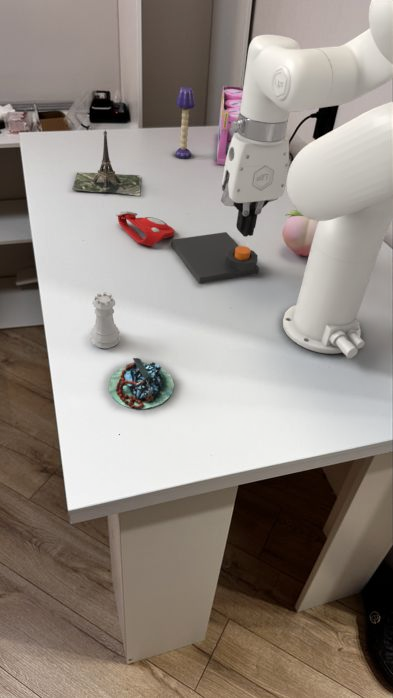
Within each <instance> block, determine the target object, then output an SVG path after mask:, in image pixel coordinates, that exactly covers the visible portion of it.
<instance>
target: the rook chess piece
mask: <svg viewBox="0 0 393 698" xmlns="http://www.w3.org/2000/svg"><path fill="white" fill-rule="evenodd" d="M102 293H103V294H101V292H98V293H96V295H95V296H94V299H93V300H92V306H93V307H94V308H95V309H94V314H95V324H94V325H93V327H92V328H91V331H90V341H91V343H92V344H93V345H94V346H95V347H96V348H99V349H110V348H113V347H115V346H116V345H118V343H119V342H120V340H121V336H120V329H119V328H118V326H117V325H116V323H115V320H114V313H115V310H114V307H115V306H116V300H115V299H114V297H113V294H111V293H108V292H106V291H103V292H102Z"/></svg>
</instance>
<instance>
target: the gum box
mask: <svg viewBox="0 0 393 698" xmlns="http://www.w3.org/2000/svg"><path fill="white" fill-rule="evenodd" d="M242 94H243V87H242V86H241V87H240V86H231V85H223V86H222V92H221V99H220V100H221V102H220V111H219V119H218V120H219V122H218V132H217V145H216V146H217V152H216V165H222V166H225V162H226V157H227V153H228V150H229V146H230V143H231V140H232V138H233V135H234V133H237V131H236V130H232V128H231V123H232V121H236V120H238V116H239V114H240V108H241V101H242Z"/></svg>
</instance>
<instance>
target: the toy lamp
mask: <svg viewBox="0 0 393 698" xmlns="http://www.w3.org/2000/svg"><path fill="white" fill-rule="evenodd" d="M175 104H176V107H177V108H180V109H181V125H180V127H181V128H180V130H181V131H180V140H179V141H180V145H179V147H180V148H177V150H176V151H175V152H174V156H175V157H176V158H178V159H183V160H187V159H190V158H191V157H192V152H191V151H190V149H188V148H187V147H188V144H187V143H188V135H189V132H188V130H189V119H190V114H189V112H190V109H193V108H195V106H196V103H195V97H194V91H193V88H191V87H189V86H183V87H180V89H179V92H178V95H177V99H176V103H175Z"/></svg>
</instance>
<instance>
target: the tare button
mask: <svg viewBox="0 0 393 698" xmlns="http://www.w3.org/2000/svg"><path fill="white" fill-rule="evenodd" d="M251 250H252V249H250V247H248V246H245V245H239V246H238V247H236V249H235V258H237V259H239V260H248V259H249V258H250V252H251Z"/></svg>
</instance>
